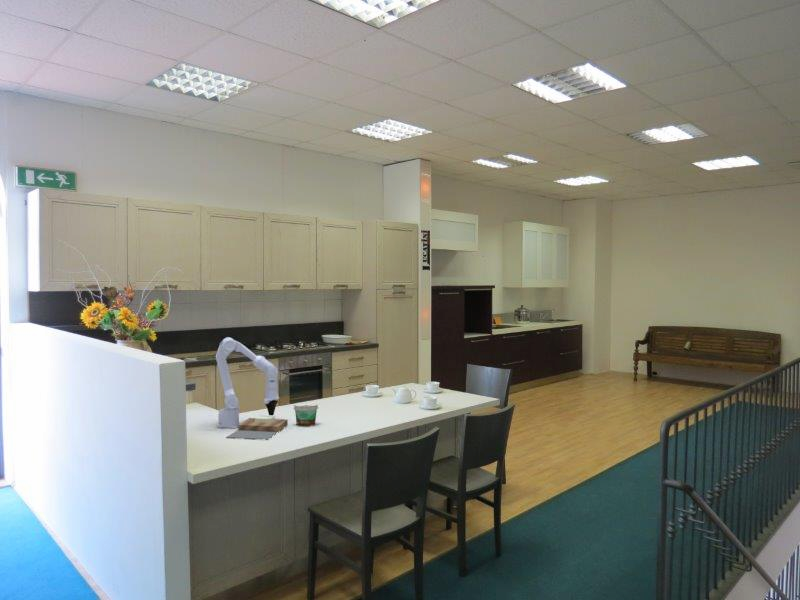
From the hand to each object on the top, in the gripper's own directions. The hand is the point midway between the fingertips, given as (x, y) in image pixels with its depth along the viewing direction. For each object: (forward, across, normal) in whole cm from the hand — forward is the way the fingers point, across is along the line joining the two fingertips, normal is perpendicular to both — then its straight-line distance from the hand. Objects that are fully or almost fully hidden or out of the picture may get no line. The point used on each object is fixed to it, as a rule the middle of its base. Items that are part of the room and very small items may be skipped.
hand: (271, 415), depth 286 cm
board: (+4, -11, 0) cm, 12 cm away
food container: (+4, -2, -19) cm, 20 cm away
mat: (+4, -24, 0) cm, 25 cm away
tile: (+1, -9, 0) cm, 9 cm away
